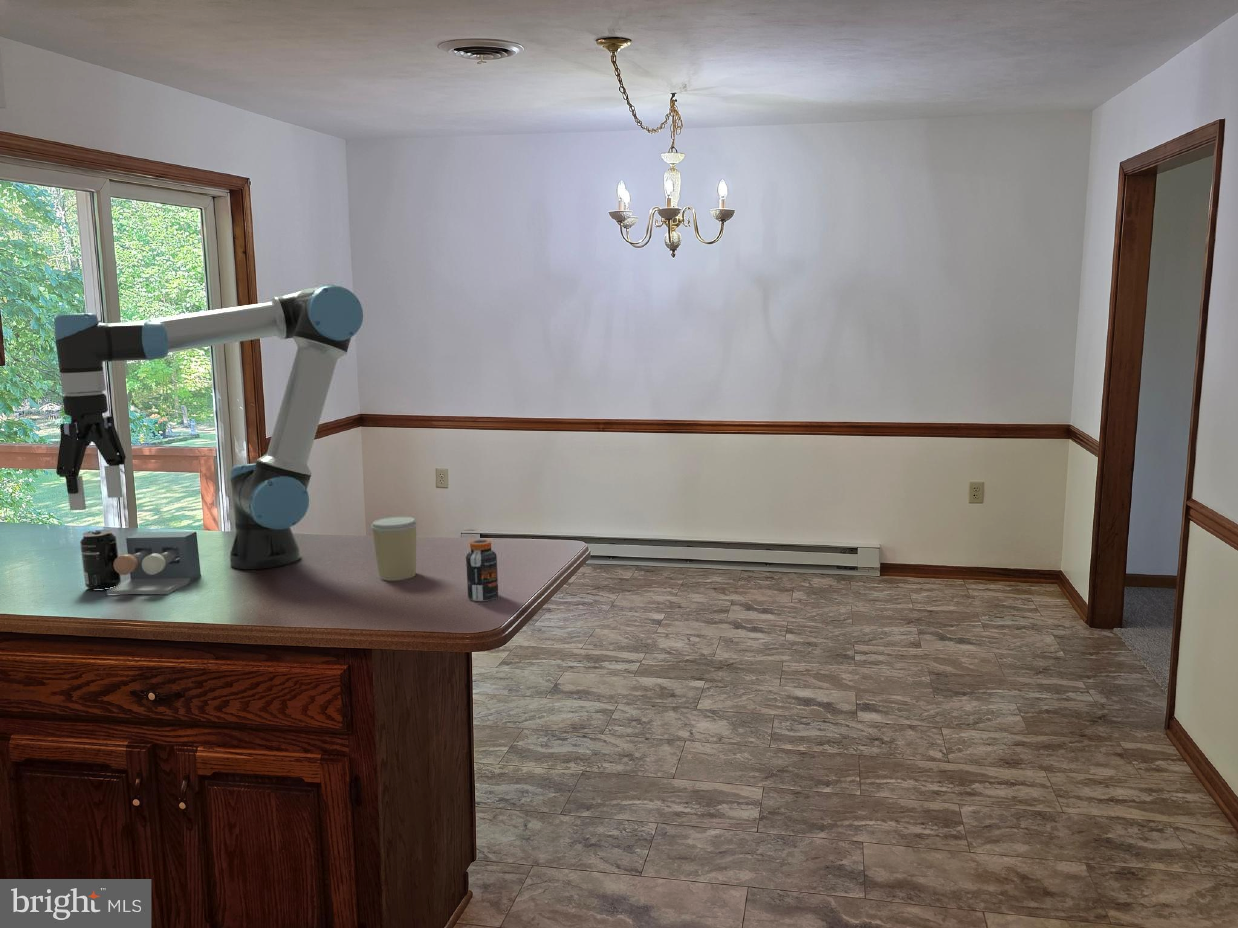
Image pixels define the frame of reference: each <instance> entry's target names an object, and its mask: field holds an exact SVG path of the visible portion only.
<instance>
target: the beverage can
mask: <svg viewBox="0 0 1238 928" xmlns="http://www.w3.org/2000/svg"><path fill="white" fill-rule="evenodd" d="M82 536H83V537H82V539H81V540H80V541H79V544H80V545H79V546H80V552H81V561H82V570H83V577H84V584H85V585H84V586H85V587H86V588H88V589H90V590H91V589H105V588H110V587H114V586H117V585H119V584H121V582H122V575H121V574H119V573H117V572H116V571H115V569H114V561H115V559H116V558H117V557H119V550H118V549H119V548H118V547H119V546H118V540H117V536H116V535H114V534H113V530H112V529H107V528H106V529H95V530H89V531H85V532H83V533H82Z"/></svg>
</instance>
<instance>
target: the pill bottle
mask: <svg viewBox="0 0 1238 928" xmlns="http://www.w3.org/2000/svg"><path fill="white" fill-rule="evenodd" d="M469 544H470V545H469V548H470V551H469V552H468V553H466V556H465V562H466V563H465V564H466V565H465V566H466V583H467V584H466V585H467V586H466V587H467V598H468V600H471V601H475V602H486V601H493V600H495V599H497V598H498V597H499V581H498V579H499V578H498V559H497V553H496V552H495V550H493V549H492V541H491V540H490V539H476V540H475V539H474V540H471V541H470V543H469Z"/></svg>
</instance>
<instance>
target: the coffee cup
mask: <svg viewBox="0 0 1238 928" xmlns="http://www.w3.org/2000/svg"><path fill="white" fill-rule="evenodd" d="M371 530H372V535H373V543H374V550H375V558H376V565H377V571H378V577H379V578H380V580H382V581H391V582H392V581H402V580H408V579H411V578H414V577H415V576H416V575H417V574H416V573H417V521H416V519H415V517H414V518H413V517H410V516H391V517H383V518H379V519H376V520H374V521H373V522H372V524H371Z"/></svg>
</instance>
